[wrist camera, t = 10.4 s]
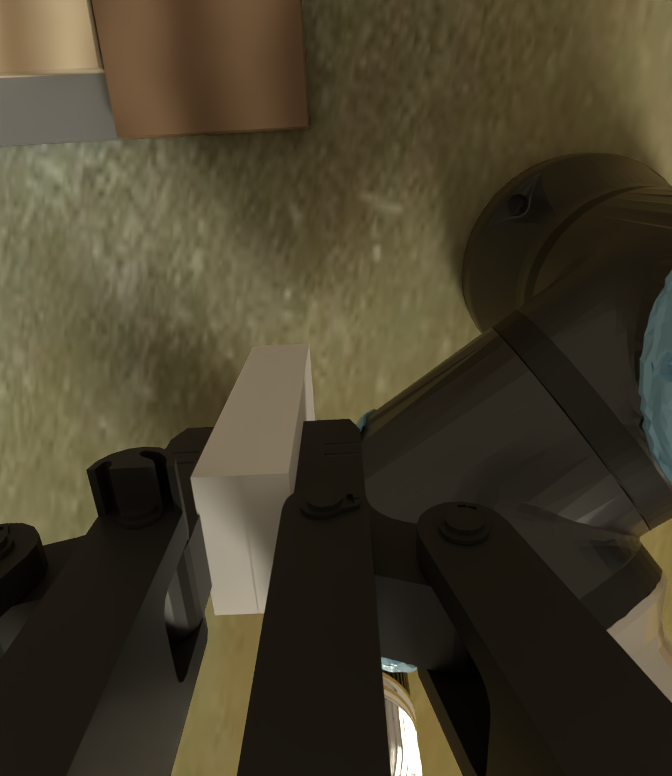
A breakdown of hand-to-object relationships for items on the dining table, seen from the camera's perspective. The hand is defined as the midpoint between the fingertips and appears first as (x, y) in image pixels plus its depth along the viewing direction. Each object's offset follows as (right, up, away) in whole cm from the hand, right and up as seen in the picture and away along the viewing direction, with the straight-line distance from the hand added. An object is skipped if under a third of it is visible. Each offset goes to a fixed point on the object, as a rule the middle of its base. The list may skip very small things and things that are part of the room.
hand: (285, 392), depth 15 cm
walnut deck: (-7, +24, +19) cm, 31 cm away
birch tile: (-17, +23, +19) cm, 34 cm away
